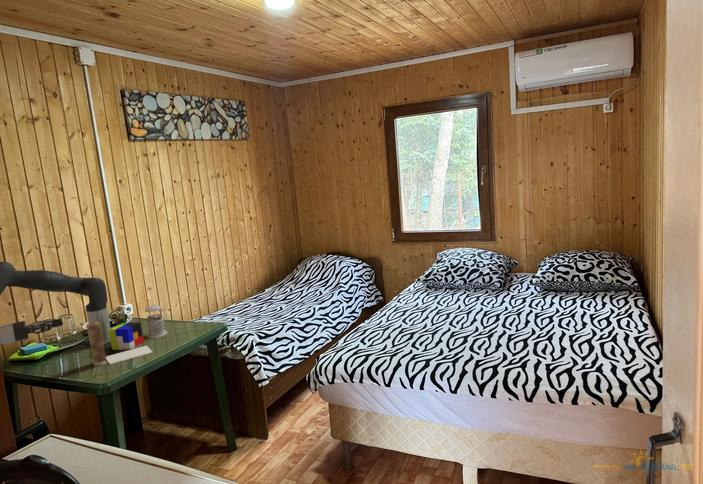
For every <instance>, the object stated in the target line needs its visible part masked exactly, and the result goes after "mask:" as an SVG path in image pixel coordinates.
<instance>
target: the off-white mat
mask: <svg viewBox="0 0 703 484" xmlns="http://www.w3.org/2000/svg"><path fill="white" fill-rule="evenodd" d="M150 354H153V351H152V349H151V348H149V346H148V345H144V346H141V347H137V348H136V347H135V348H132V349H127V350H126V351H122V352H118V353H115V354H111V355H107V356H106V355H105V356H106V362H107V363H108V365H110V366H111V365H114V364H118V363H122V362H126V361H128V360H132V359H135V358H139V357H142V356H143V357H144V356H147V355H150Z"/></svg>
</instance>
